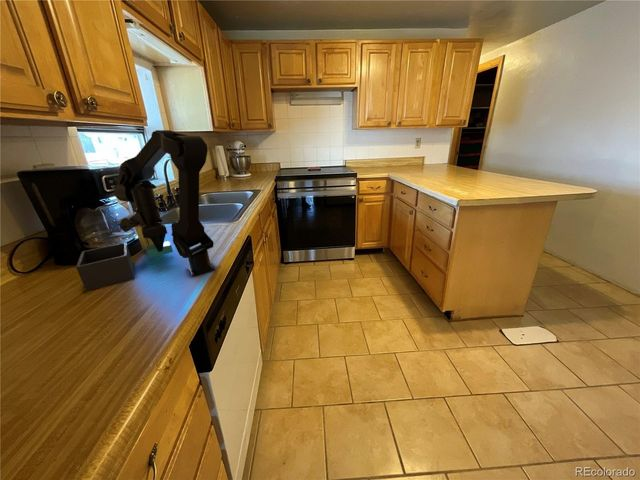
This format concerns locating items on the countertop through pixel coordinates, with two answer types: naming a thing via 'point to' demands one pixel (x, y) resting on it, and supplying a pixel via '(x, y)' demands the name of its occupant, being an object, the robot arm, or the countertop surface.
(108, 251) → the trash bin
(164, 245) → the packet
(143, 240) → the sauce bottle
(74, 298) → the countertop surface
